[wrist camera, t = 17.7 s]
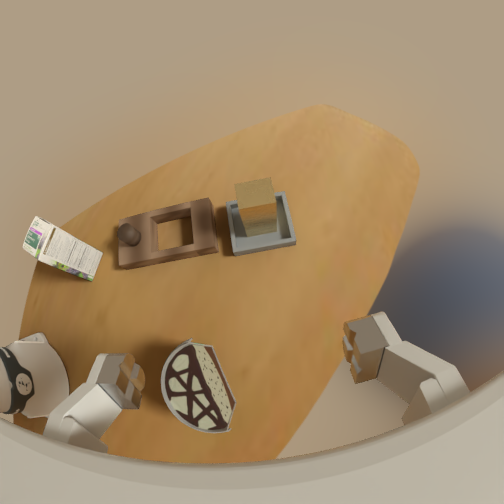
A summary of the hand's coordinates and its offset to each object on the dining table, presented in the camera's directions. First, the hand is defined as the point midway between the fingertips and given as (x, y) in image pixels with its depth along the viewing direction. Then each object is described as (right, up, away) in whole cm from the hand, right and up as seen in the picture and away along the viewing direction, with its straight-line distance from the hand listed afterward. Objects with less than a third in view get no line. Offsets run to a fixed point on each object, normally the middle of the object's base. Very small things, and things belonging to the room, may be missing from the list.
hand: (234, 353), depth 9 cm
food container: (-6, -15, +27) cm, 32 cm away
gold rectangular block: (+2, +8, +32) cm, 33 cm away
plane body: (-13, +6, +34) cm, 37 cm away
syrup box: (-29, +2, +34) cm, 45 cm away
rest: (+2, +8, +33) cm, 34 cm away
